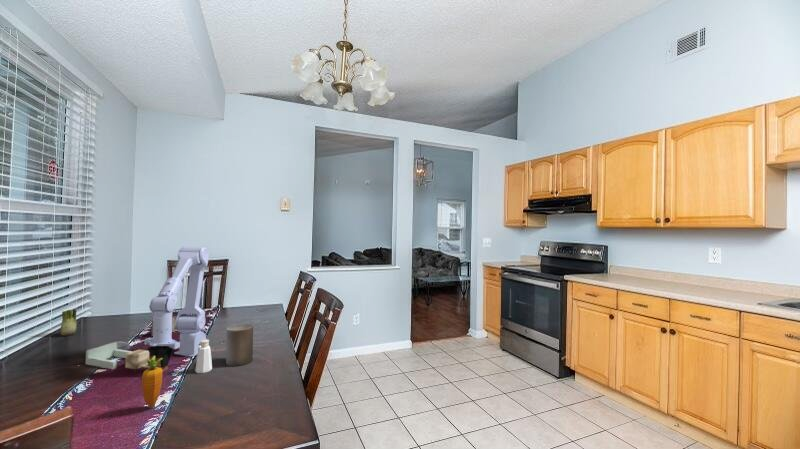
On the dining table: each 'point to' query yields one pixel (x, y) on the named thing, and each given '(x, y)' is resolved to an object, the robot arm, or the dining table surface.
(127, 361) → the tethered block
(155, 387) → the carrot
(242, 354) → the pillar candle
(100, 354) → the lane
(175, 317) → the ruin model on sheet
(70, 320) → the fennel bulb
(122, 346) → the stone block
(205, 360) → the pepper shaker
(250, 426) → the dining table surface
